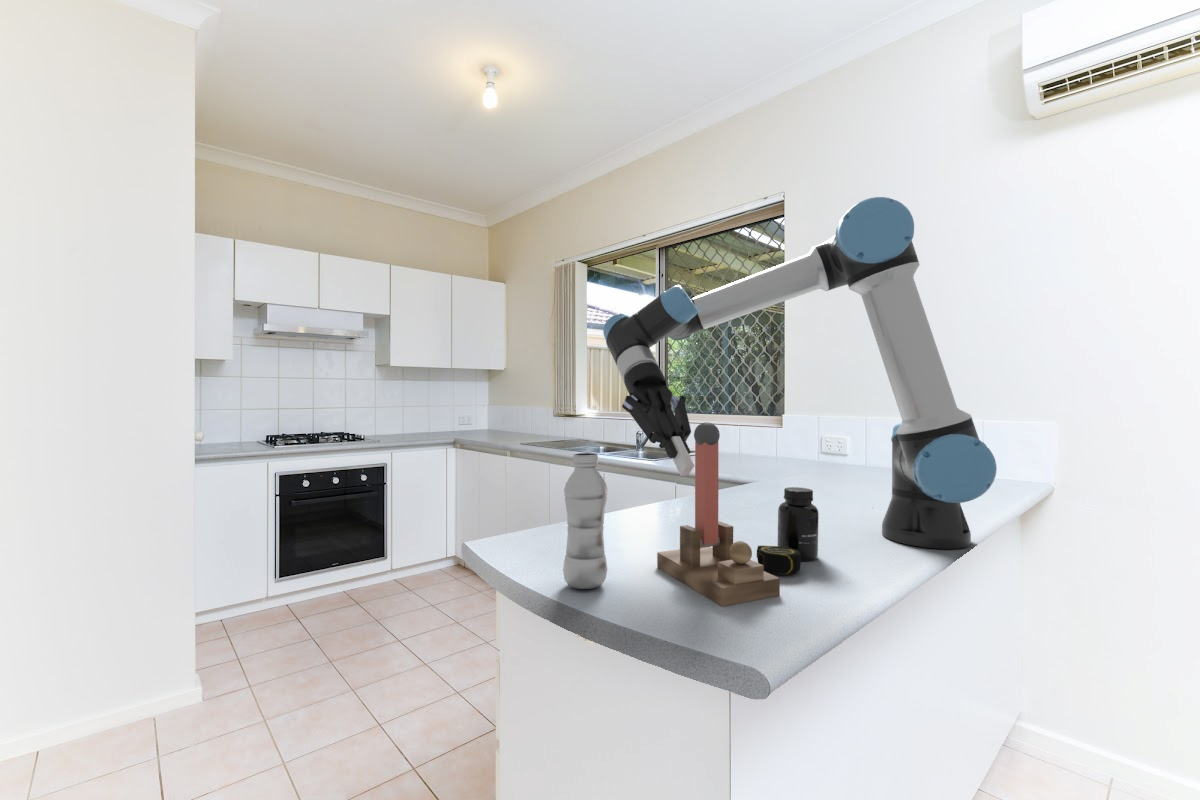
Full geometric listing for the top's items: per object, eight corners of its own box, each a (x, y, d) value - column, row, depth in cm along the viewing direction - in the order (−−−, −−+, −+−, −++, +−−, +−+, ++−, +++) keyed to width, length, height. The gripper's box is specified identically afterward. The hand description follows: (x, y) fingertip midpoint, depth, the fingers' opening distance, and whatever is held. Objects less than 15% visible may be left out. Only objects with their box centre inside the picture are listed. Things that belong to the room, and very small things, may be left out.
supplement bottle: (811, 564, 92) (812, 494, 91) (771, 557, 96) (772, 489, 96) (823, 555, 97) (823, 488, 97) (784, 548, 101) (785, 484, 101)
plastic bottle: (558, 581, 84) (558, 452, 83) (600, 577, 86) (600, 451, 85) (569, 596, 77) (568, 457, 77) (613, 591, 80) (613, 455, 79)
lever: (688, 545, 87) (689, 422, 87) (709, 542, 89) (710, 421, 88) (703, 551, 83) (703, 423, 83) (724, 548, 85) (724, 422, 85)
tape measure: (798, 567, 91) (798, 545, 91) (802, 580, 84) (802, 556, 84) (756, 564, 93) (756, 542, 93) (757, 576, 86) (757, 553, 86)
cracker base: (657, 567, 90) (657, 519, 90) (707, 559, 94) (707, 514, 94) (722, 606, 74) (722, 548, 74) (779, 595, 78) (779, 540, 78)
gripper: (663, 388, 111) (710, 481, 96) (605, 388, 106) (645, 486, 91) (677, 361, 106) (729, 455, 91) (617, 359, 101) (661, 459, 86)
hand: (687, 470), depth 91 cm, fingers closed
